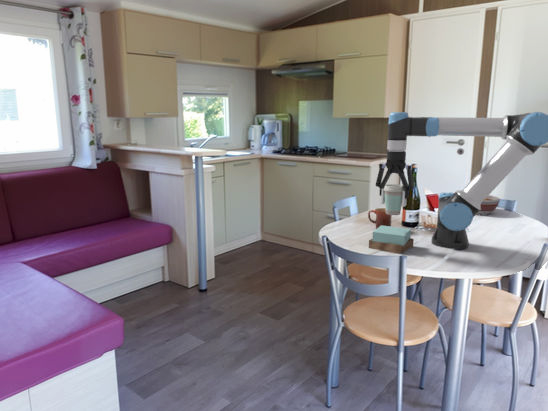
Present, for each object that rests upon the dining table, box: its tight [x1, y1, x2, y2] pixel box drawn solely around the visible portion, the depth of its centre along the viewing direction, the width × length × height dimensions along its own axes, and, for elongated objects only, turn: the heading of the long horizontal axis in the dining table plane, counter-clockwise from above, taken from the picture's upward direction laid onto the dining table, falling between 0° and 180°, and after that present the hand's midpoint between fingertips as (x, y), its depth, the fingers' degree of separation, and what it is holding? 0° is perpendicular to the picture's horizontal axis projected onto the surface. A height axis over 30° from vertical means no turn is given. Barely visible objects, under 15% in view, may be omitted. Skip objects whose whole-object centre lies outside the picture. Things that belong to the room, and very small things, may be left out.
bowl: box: [477, 194, 501, 215], centre depth 254 cm, size 23×23×10 cm
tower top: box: [371, 225, 412, 245], centre depth 188 cm, size 13×13×4 cm
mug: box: [367, 207, 393, 230], centre depth 217 cm, size 12×9×10 cm
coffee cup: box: [384, 183, 405, 216], centre depth 185 cm, size 9×8×12 cm
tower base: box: [368, 238, 415, 255], centre depth 189 cm, size 14×14×4 cm
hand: (393, 204), depth 186 cm, fingers closed on coffee cup, 8 cm apart
